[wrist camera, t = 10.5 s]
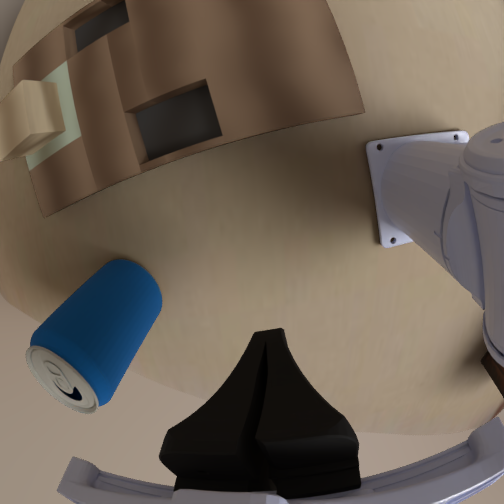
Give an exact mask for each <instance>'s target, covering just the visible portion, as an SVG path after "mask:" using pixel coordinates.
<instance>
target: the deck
mask: <svg viewBox="0 0 504 504" xmlns="http://www.w3.org/2000/svg"><path fill="white" fill-rule="evenodd" d="M13 77H14V88H15V87H16V86H17V85H18V84H19V83H20V82H21V81H22V80H33V81H44V82H53V83H57V89H58V94H59V100H60V105H61V110H62V115H63V120H64V124H65V129H66V131H65V132H63V133H62V134H60V135H59V136H57V137H56V138H54V139H53V140H52V141H50V142H49V143H47V144H46V145H45V146H43V147H42V148H41V149H39V150H38V151H37V152H35V153H34V154H32V155H28V156H26V160H27V164H28V168H29V172H30V176H31V179H32V183H33V186H34V190H35V193H36V196H37V199H38V202H39V205H40V208H41V211H42V214H43V217H44V218H45V217H47V216H49V215H51V214H53V213H56V212H58V211H60V210H62V209H64V208H65V207H67V206H69V205H71V204H73V203H75V202H77V201H80V200H82V199H84V198H86V197H88V196H90V195H92V194H94V193H96V192H99V191H101V190H103V189H105V188H107V187H110V186H112V185H114V184H117V183H119V182H121V181H124V180H126V179H128V178H131V177H133V176H136V175H138V174H141V173H143V172H146V171H148V170H151V169H153V168H156V167H159V166H161V165H164V164H167V163H170V162H172V161H175V160H178V159H181V158H184V157H187V156H190V155H192V154H195V153H199V152H202V151H205V150H208V149H211V148H214V147H217V146H221V145H224V144H227V143H231V142H234V141H238V140H241V139H245V138H249V137H252V136H256V135H260V134H264V133H268V132H272V131H276V130H280V129H284V128H289V127H293V126H298V125H303V124H307V123H312V122H317V121H323V120H328V119H334V118H339V117H345V116H352V115H358V114H361V113H365V109H364V106H363V102H362V98H361V95H360V91H359V88H358V84H357V81H356V78H355V75H354V71H353V68H352V65H351V62H350V59H349V57H348V54H347V51H346V48H345V45H344V43H343V40H342V37H341V35H340V32H339V30H338V27H337V25H336V22H335V20H334V17H333V15H332V13H331V10H330V8H329V6H328V4H327V1H326V0H94V1H93V2H91V3H89V4H88V5H86V6H85V7H83V8H82V9H80V10H79V11H77V12H76V13H75V14H73V15H72V16H70V17H69V18H68V19H66V20H65V21H64V22H62V23H61V24H60V25H58V26H57V27H56V28H55V29H53V30H52V31H51V32H50V33H48V34H47V35H46V36H45V37H44V38H42V39H41V40H40V41H39V42H38V43H37V44H36V45H34V46H33V47H32V48H31V49H30V50H29V51H28V52H27V53H26V54H25V55H24V56H23V57H22V58H21V59H19V60H18V61H17V62H16V63H15V64H14V65H13Z"/></svg>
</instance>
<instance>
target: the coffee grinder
mask: <svg viewBox="0 0 504 504" xmlns="http://www.w3.org/2000/svg"><path fill="white" fill-rule="evenodd" d="M481 364H482V365H483V366H484V367H485V369H486V370H487V372H488V374H489V375H490V377H491V378H492V380H493V381H494V383H495V385H496V386H497V388H498V389H499V391H500V393H501V394H502V396H503V398H504V367H503V366H501V365H500V364H499V363H497V362H496V360H495V359H494V358H493V357H492V356H491V354H490V353H489V351H487V353H486V354H485V356H484V357H483V359H482V360H481Z"/></svg>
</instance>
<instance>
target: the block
mask: <svg viewBox="0 0 504 504" xmlns="http://www.w3.org/2000/svg"><path fill="white" fill-rule="evenodd" d="M65 131H66V129H65V124H64V120H63V115H62V110H61V105H60V100H59V94H58V89H57V83H53V82H44V81H33V80H22V81H21V82H20V83H19V84H18V85H17V86H16V87H15V88H14V89H13V90H12V91H11V92H10V93H9V94H8V95H7V96H6V97H5V98H4V99H3V100H2V101H1V102H0V162H2V161H6V160H10V159H14V158H18V157H23V156H28V155H32V154H34V153H35V152H37V151H38V150H39V149H41V148H42V147H43V146H45V145H46V144H47V143H49V142H50V141H52V140H53V139H54V138H56V137H57V136H59V135H60V134H62V133H63V132H65Z"/></svg>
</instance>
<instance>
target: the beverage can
mask: <svg viewBox="0 0 504 504" xmlns="http://www.w3.org/2000/svg"><path fill="white" fill-rule="evenodd" d="M161 308H162V295H161V291H160V288H159V286H158V284H157V282H156V281H155V279H154V278H153V277H152V275H151V274H150V273H149V272H148V271H147V270H145V269H144V268H143V267H141V266H140V265H138V264H136V263H134V262H132V261H129V260H124V259H117V260H113V261H110V262H108V263H107V264H105V265H104V266H103V267H102V268H101V269H100V270H98V271H97V272H96V273H95V274H94V275H93V276H92V277H91V278H89V279H88V280H87V281H86V282H85V283H84V284H83V285H82V286H81V287H80V288H79V289H77V290H76V291H75V292H74V293H73V294H72V295H71V296H70V297H69V298H68V299H67V300H66V301H65V302H64V303H63V304H62V305H61V306H60V307H58V308H57V309H56V310H55V311H54V312H53V313H52V314H51V315H50V316H49V317H48V318H47V319H46V320H45V321H44V322H43V323H42V324H41V325H40V326H39V328H38V329H37V330H36V331H35V332H34V333H33V335H32V337H31V342H30V348H28V350H27V351H26V361H27V364H28V366H29V368H30V370H31V372H32V374H33V375H34V377H35V378H36V380H37V381H38V382H39V383H40V385H41V386H42V387H43V388H44V389H45V390H46V391H47V392H48V393H49V394H50V395H52V396H53V397H54V398H55V399H56V400H58V401H59V402H61V403H62V404H64V405H65V406H67V407H69V408H71V409H73V410H75V411H78V412H81V413H85V414H92V413H94V412H96V411H97V409H98V407H99V406H102V405H104V404H106V403H108V402H109V401H110V400H111V398H112V396H113V394H114V392H115V390H116V388H117V386H118V385H119V383H120V381H121V379H122V377H123V376H124V374H125V372H126V370H127V368H128V367H129V365H130V363H131V361H132V360H133V358H134V356H135V354H136V352H137V351H138V349H139V347H140V346H141V344H142V342H143V340H144V339H145V337H146V335H147V333H148V332H149V330H150V328H151V327H152V325H153V323H154V322H155V320H156V318H157V316H158V315H159V313H160V311H161Z"/></svg>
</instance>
